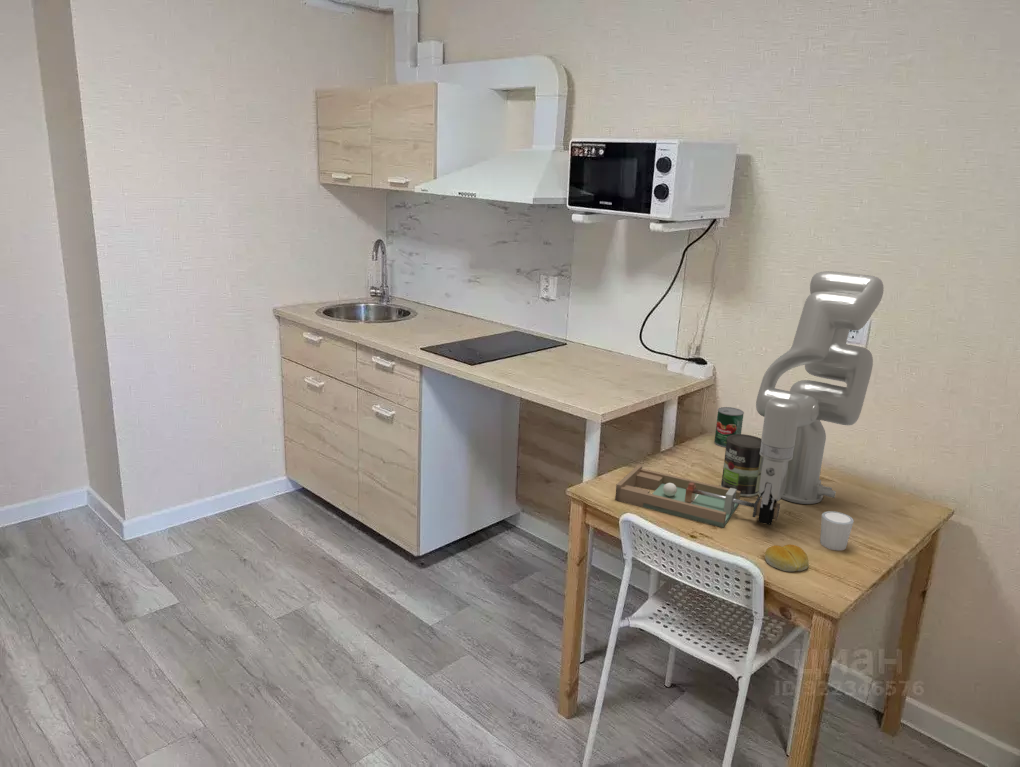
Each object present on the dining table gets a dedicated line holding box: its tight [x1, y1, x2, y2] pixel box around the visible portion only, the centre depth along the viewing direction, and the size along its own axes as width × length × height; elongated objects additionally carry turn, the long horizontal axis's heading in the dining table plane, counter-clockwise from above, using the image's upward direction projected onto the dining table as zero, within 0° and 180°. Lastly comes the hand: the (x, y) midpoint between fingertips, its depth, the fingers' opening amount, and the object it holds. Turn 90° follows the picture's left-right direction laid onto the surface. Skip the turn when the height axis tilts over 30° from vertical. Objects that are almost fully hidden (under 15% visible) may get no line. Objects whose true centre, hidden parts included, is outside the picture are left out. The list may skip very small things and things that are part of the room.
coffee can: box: [720, 433, 764, 498], centre depth 200 cm, size 10×10×14 cm
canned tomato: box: [714, 406, 745, 448], centre depth 234 cm, size 8×8×11 cm
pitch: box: [614, 464, 741, 529], centre depth 191 cm, size 28×16×6 cm, turn 60°
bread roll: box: [764, 543, 810, 573], centre depth 163 cm, size 8×9×4 cm
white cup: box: [819, 510, 855, 551], centre depth 172 cm, size 7×7×7 cm
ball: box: [663, 483, 677, 496], centre depth 192 cm, size 4×4×4 cm
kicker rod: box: [685, 482, 781, 521], centre depth 185 cm, size 22×5×4 cm, turn 60°
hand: (766, 519), depth 181 cm, fingers closed on kicker rod, 3 cm apart
